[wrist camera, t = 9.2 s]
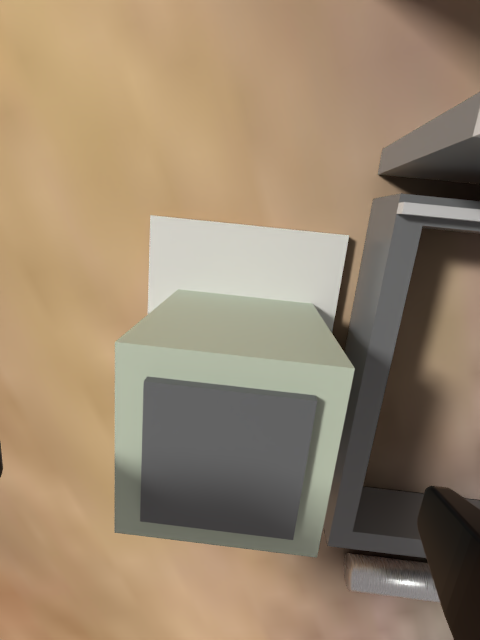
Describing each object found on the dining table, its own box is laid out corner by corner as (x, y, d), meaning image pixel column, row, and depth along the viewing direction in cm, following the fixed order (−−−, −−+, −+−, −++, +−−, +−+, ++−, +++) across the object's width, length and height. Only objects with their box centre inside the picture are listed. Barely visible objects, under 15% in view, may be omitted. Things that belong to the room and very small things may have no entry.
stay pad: (346, 235, 13) (349, 235, 12) (305, 470, 15) (306, 476, 15) (153, 215, 13) (150, 215, 13) (146, 451, 16) (143, 457, 15)
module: (312, 303, 13) (358, 373, 7) (293, 423, 14) (318, 567, 8) (178, 289, 13) (110, 346, 7) (171, 409, 15) (110, 541, 9)
